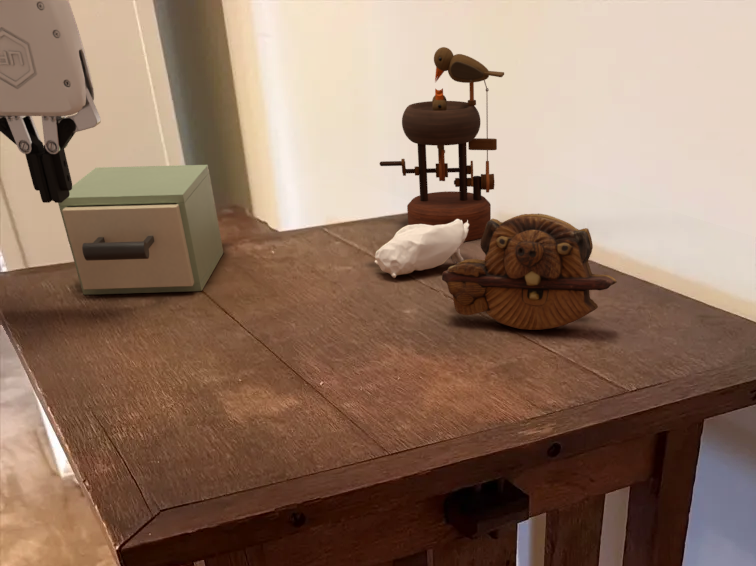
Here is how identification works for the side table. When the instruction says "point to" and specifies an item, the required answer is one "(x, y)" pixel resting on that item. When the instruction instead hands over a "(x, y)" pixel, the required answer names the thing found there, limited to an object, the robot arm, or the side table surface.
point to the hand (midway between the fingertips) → (56, 198)
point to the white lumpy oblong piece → (422, 247)
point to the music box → (450, 127)
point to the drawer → (129, 245)
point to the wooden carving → (528, 274)
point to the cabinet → (155, 187)
